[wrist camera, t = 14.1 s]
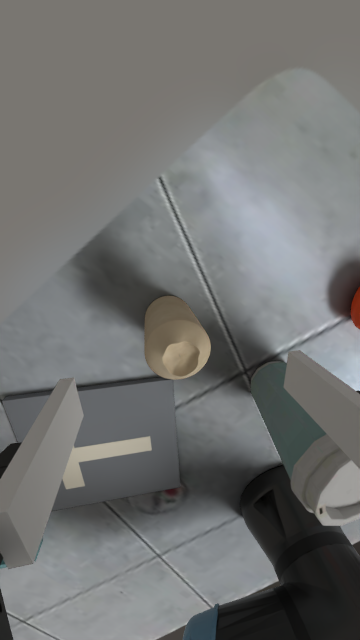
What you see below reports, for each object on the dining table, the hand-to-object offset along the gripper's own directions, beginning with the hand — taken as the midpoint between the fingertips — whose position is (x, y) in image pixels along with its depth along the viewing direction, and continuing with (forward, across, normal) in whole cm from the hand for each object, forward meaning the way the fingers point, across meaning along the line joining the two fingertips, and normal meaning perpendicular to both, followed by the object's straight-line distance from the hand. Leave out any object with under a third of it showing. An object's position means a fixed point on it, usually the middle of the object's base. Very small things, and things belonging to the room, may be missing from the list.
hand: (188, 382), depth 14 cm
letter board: (+13, +10, +18) cm, 25 cm away
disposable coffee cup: (+13, -14, +12) cm, 23 cm away
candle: (+14, 0, 0) cm, 14 cm away
